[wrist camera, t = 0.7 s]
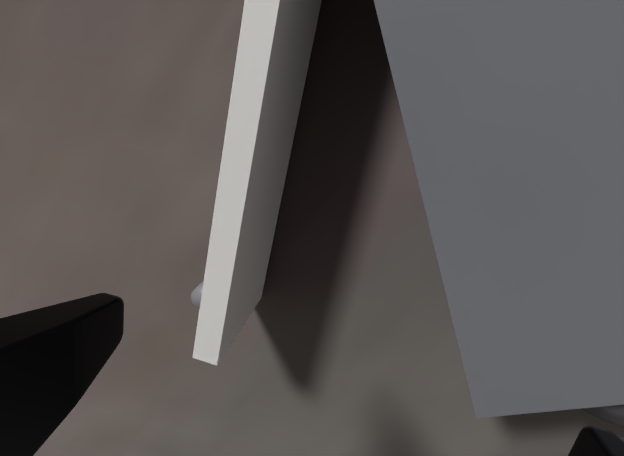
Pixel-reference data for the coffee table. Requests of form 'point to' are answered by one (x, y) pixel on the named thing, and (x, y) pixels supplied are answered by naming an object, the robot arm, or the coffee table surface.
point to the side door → (253, 165)
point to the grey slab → (522, 189)
